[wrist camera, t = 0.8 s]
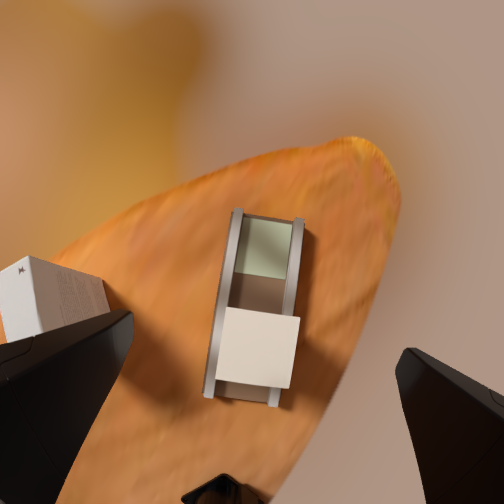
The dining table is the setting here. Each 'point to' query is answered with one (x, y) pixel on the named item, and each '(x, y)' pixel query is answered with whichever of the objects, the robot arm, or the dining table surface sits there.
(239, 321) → the slider block
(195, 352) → the dining table surface
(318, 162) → the dining table surface
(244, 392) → the track
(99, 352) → the robot arm
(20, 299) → the skincare box
